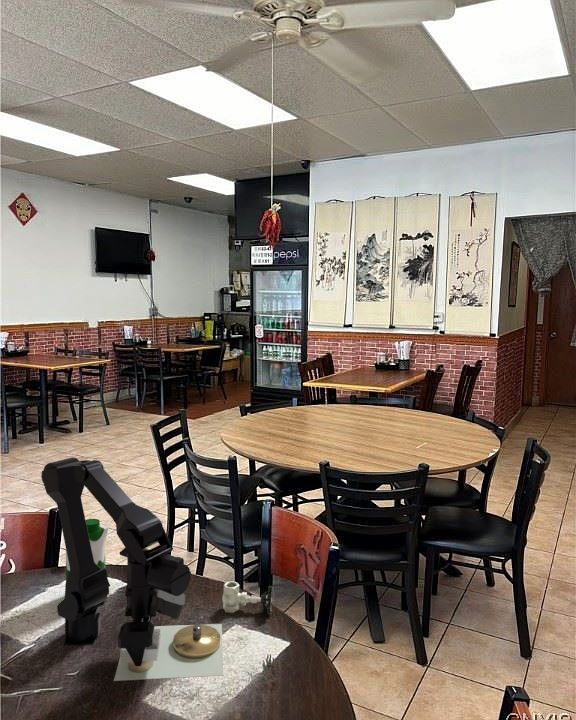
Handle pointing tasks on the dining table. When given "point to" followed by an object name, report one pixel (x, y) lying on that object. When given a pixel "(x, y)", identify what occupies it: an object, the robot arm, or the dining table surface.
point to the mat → (175, 660)
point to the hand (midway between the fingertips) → (140, 654)
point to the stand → (138, 669)
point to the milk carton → (94, 543)
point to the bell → (196, 641)
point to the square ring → (149, 652)
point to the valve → (244, 598)
